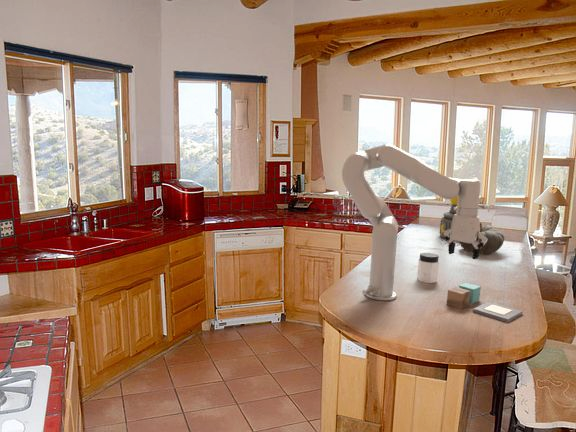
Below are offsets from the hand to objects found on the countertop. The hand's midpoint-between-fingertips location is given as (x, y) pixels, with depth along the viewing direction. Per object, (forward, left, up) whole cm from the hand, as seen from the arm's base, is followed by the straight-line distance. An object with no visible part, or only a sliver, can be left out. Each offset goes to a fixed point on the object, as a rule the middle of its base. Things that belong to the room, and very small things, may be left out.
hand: (463, 256), depth 185 cm
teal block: (+9, 0, -20) cm, 22 cm away
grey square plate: (+4, -14, -20) cm, 24 cm away
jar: (+19, +25, -20) cm, 37 cm away
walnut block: (0, 0, -20) cm, 20 cm away
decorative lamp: (+121, +67, -20) cm, 140 cm away
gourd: (+96, +37, -20) cm, 105 cm away
